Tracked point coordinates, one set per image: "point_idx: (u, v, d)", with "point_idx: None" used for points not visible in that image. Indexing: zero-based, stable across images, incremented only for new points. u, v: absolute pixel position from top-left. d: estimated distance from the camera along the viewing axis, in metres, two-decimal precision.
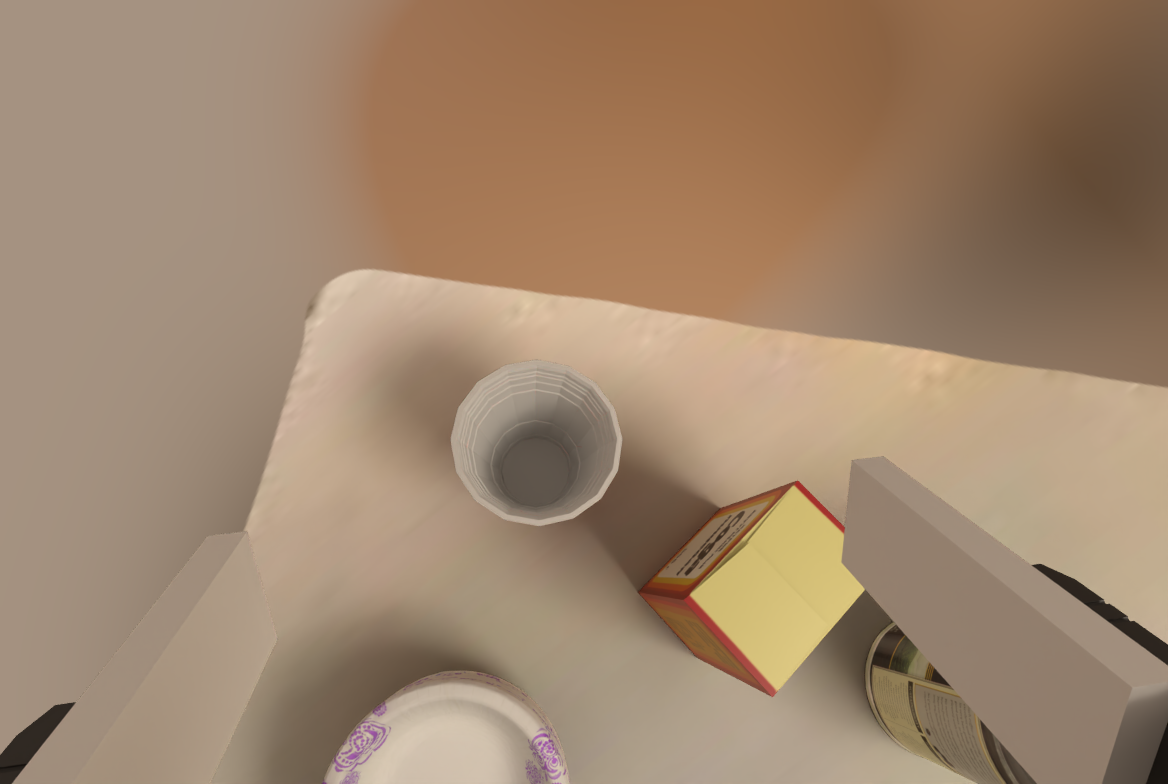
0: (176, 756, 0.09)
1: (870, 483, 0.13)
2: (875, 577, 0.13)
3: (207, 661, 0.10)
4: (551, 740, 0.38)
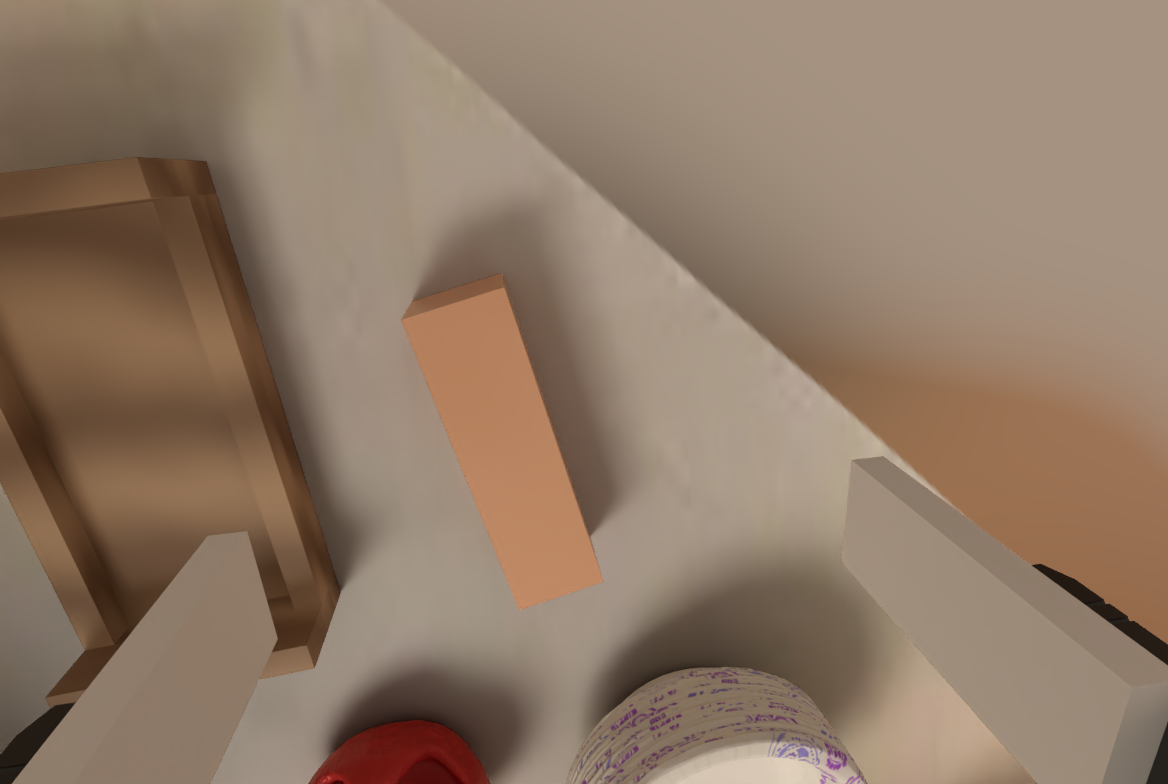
0: (176, 756, 0.09)
1: (870, 483, 0.13)
2: (875, 578, 0.13)
3: (207, 661, 0.10)
4: None
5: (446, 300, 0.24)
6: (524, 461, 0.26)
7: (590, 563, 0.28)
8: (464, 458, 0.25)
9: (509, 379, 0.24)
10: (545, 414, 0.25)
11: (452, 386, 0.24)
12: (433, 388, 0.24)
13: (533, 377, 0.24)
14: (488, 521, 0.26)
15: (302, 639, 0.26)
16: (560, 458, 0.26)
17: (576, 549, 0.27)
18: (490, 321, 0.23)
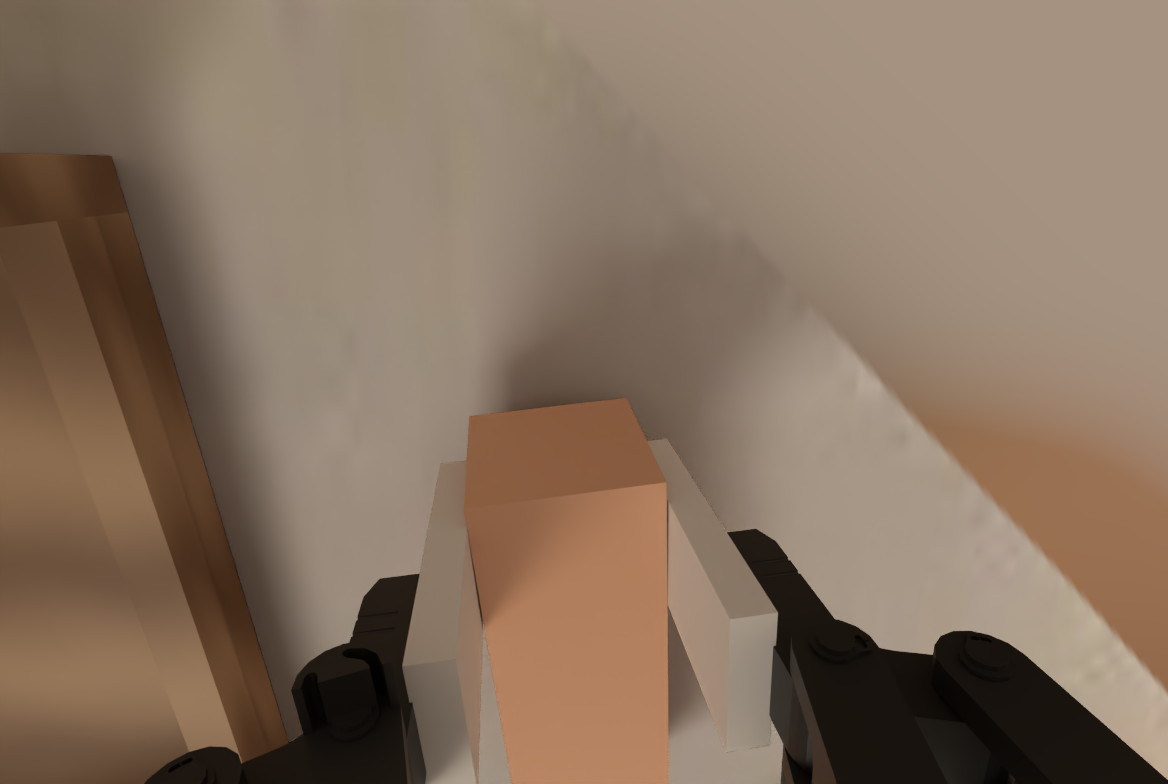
0: (474, 619, 0.12)
1: None
2: None
3: None
4: None
5: (546, 468, 0.13)
6: (608, 732, 0.15)
7: None
8: (512, 722, 0.14)
9: (625, 621, 0.14)
10: (665, 675, 0.15)
11: (524, 621, 0.13)
12: (490, 620, 0.13)
13: (665, 622, 0.14)
14: None
15: None
16: (666, 735, 0.15)
17: None
18: (624, 533, 0.13)
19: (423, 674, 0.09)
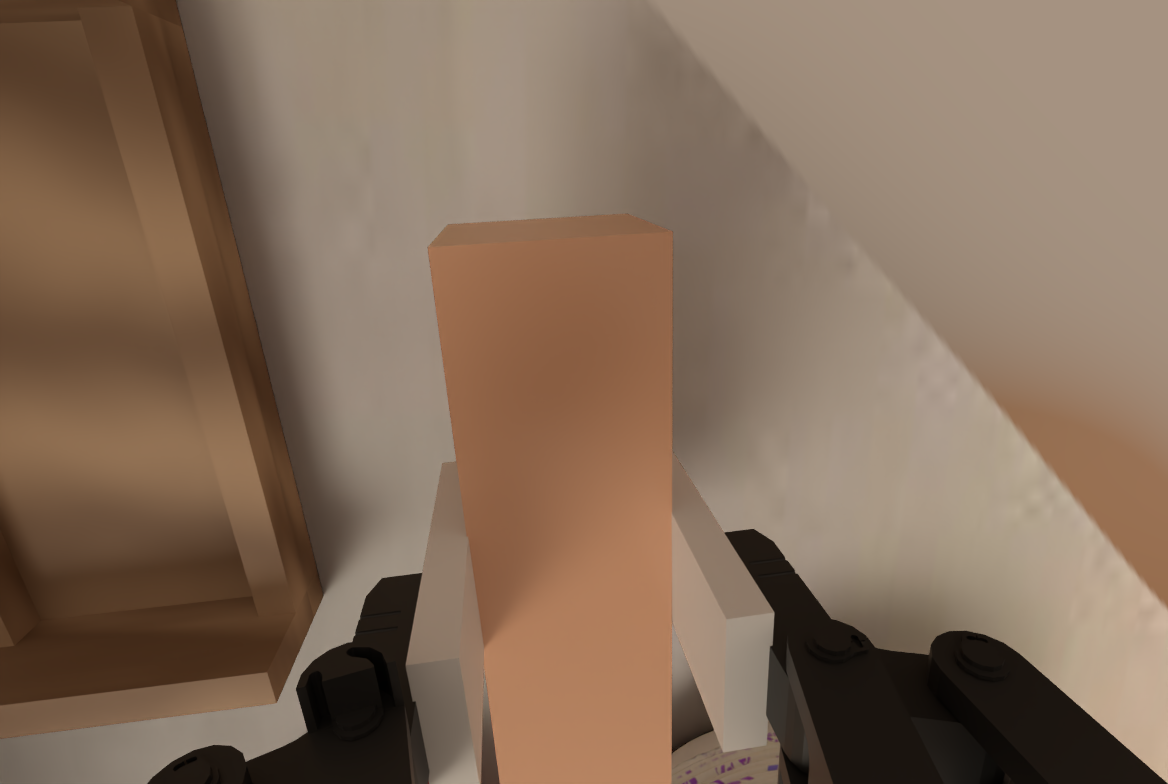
0: (476, 619, 0.12)
1: None
2: None
3: None
4: None
5: (530, 233, 0.11)
6: (599, 591, 0.13)
7: None
8: (483, 565, 0.12)
9: (622, 429, 0.11)
10: (668, 512, 0.12)
11: (499, 419, 0.11)
12: (459, 413, 0.11)
13: (669, 436, 0.12)
14: (496, 687, 0.13)
15: (263, 662, 0.19)
16: (669, 599, 0.13)
17: (642, 759, 0.14)
18: (620, 300, 0.11)
19: (427, 673, 0.09)
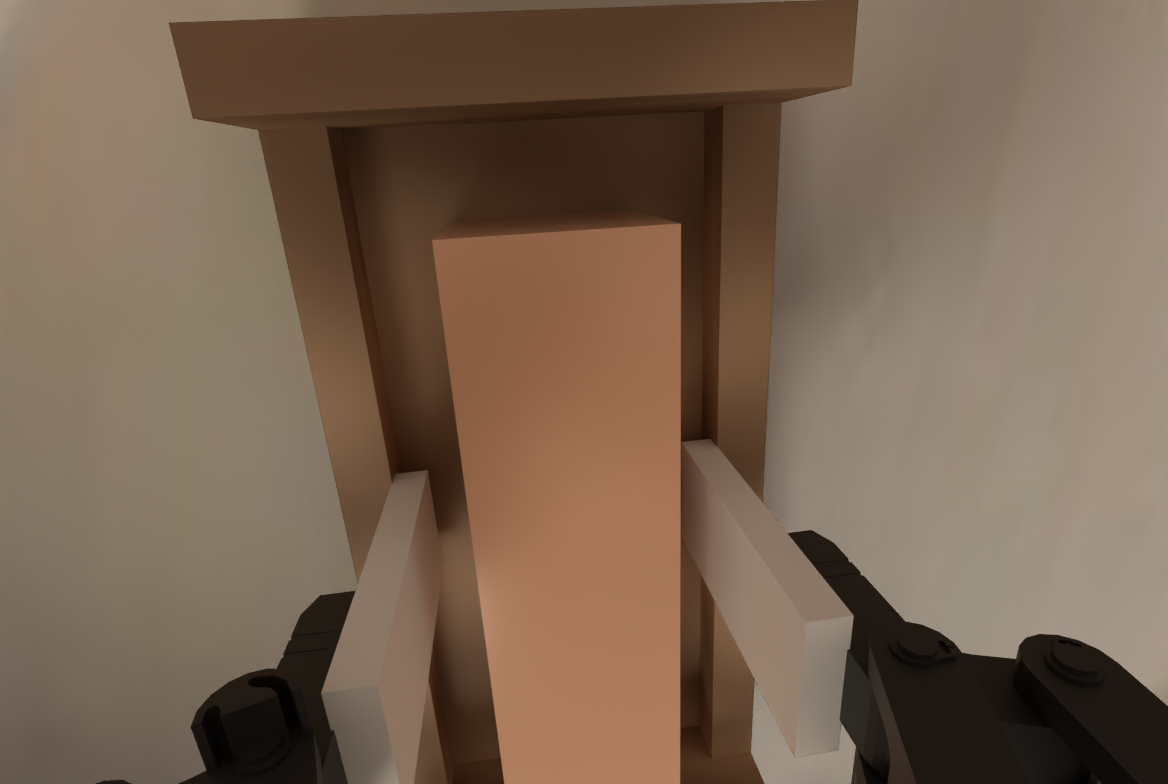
0: (418, 637, 0.11)
1: (690, 462, 0.15)
2: (696, 548, 0.15)
3: (422, 569, 0.13)
4: None
5: (535, 226, 0.11)
6: (607, 591, 0.12)
7: None
8: (489, 566, 0.12)
9: (629, 426, 0.11)
10: (677, 511, 0.12)
11: (506, 416, 0.11)
12: (463, 411, 0.11)
13: (678, 432, 0.11)
14: (502, 692, 0.13)
15: None
16: (678, 600, 0.13)
17: (650, 764, 0.14)
18: (628, 294, 0.10)
19: (344, 700, 0.08)
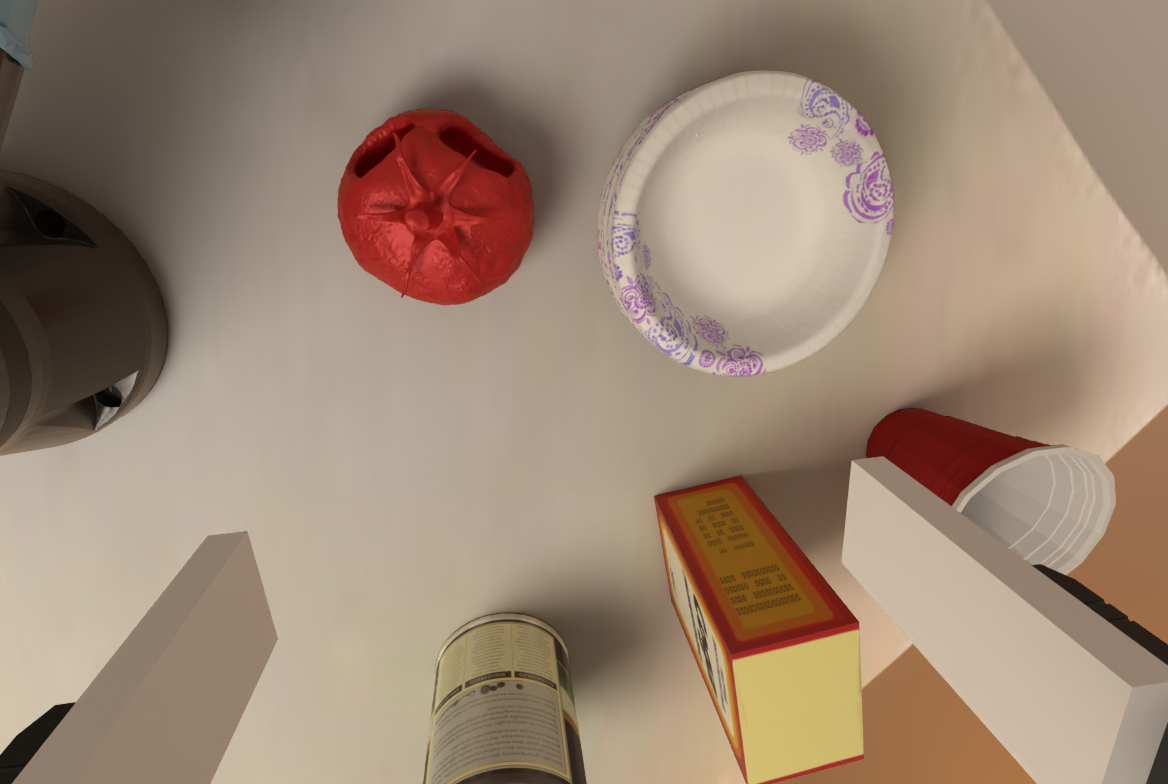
0: (176, 756, 0.09)
1: (870, 483, 0.13)
2: (875, 578, 0.13)
3: (206, 662, 0.10)
4: (746, 375, 0.34)
5: None
6: None
7: None
8: None
9: None
10: None
11: None
12: None
13: None
14: None
15: None
16: None
17: None
18: None
19: None
